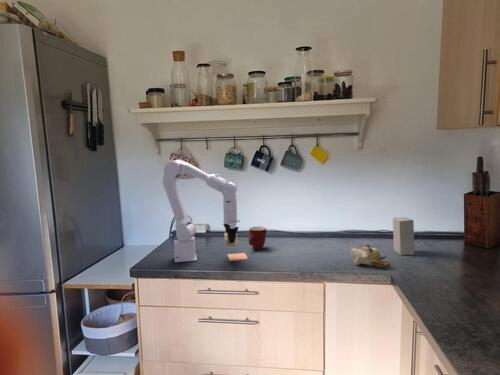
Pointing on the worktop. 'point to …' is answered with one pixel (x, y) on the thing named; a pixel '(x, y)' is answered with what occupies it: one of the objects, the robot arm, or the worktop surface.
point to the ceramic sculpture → (368, 256)
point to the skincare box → (403, 235)
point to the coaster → (237, 257)
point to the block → (230, 243)
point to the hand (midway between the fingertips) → (231, 241)
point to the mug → (257, 237)
